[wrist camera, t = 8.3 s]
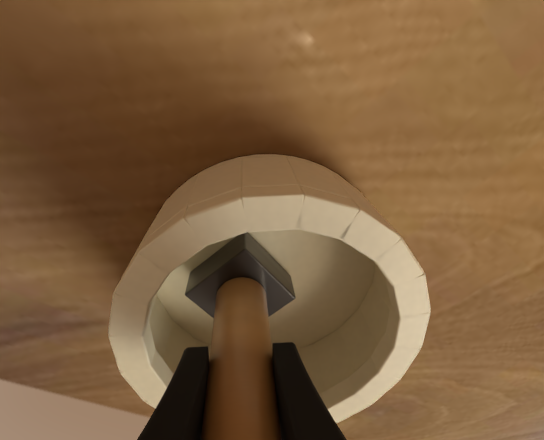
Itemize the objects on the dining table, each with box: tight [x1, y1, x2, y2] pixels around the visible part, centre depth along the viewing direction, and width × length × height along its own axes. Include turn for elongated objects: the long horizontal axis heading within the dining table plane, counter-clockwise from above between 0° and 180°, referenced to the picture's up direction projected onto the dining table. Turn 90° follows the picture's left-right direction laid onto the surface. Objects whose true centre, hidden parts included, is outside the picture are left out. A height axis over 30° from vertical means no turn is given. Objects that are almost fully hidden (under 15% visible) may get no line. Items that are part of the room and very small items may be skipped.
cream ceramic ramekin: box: [108, 154, 431, 423], centre depth 13 cm, size 11×11×4 cm
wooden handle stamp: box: [185, 232, 296, 440], centre depth 10 cm, size 3×3×9 cm
